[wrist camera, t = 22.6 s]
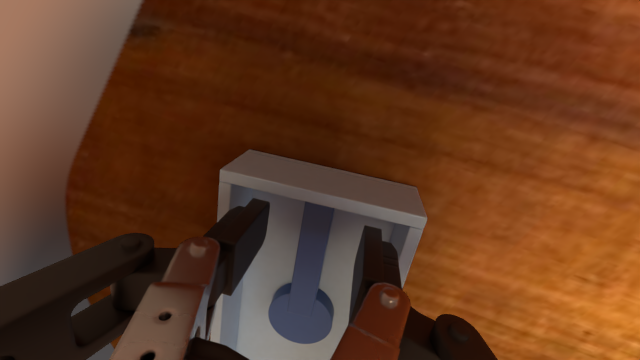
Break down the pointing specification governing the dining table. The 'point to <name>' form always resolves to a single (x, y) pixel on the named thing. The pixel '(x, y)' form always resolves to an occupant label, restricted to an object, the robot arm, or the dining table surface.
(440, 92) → the dining table surface
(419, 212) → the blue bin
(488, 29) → the dining table surface
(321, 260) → the blue spoon
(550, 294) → the dining table surface
